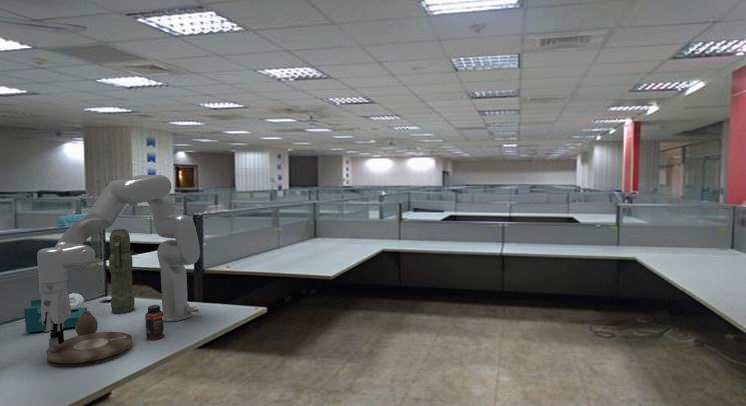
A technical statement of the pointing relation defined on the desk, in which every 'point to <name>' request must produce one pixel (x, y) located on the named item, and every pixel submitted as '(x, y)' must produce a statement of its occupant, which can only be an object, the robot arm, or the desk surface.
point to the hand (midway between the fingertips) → (57, 343)
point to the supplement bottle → (154, 323)
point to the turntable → (88, 347)
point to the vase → (86, 324)
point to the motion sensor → (76, 301)
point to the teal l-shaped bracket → (35, 320)
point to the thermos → (121, 272)
